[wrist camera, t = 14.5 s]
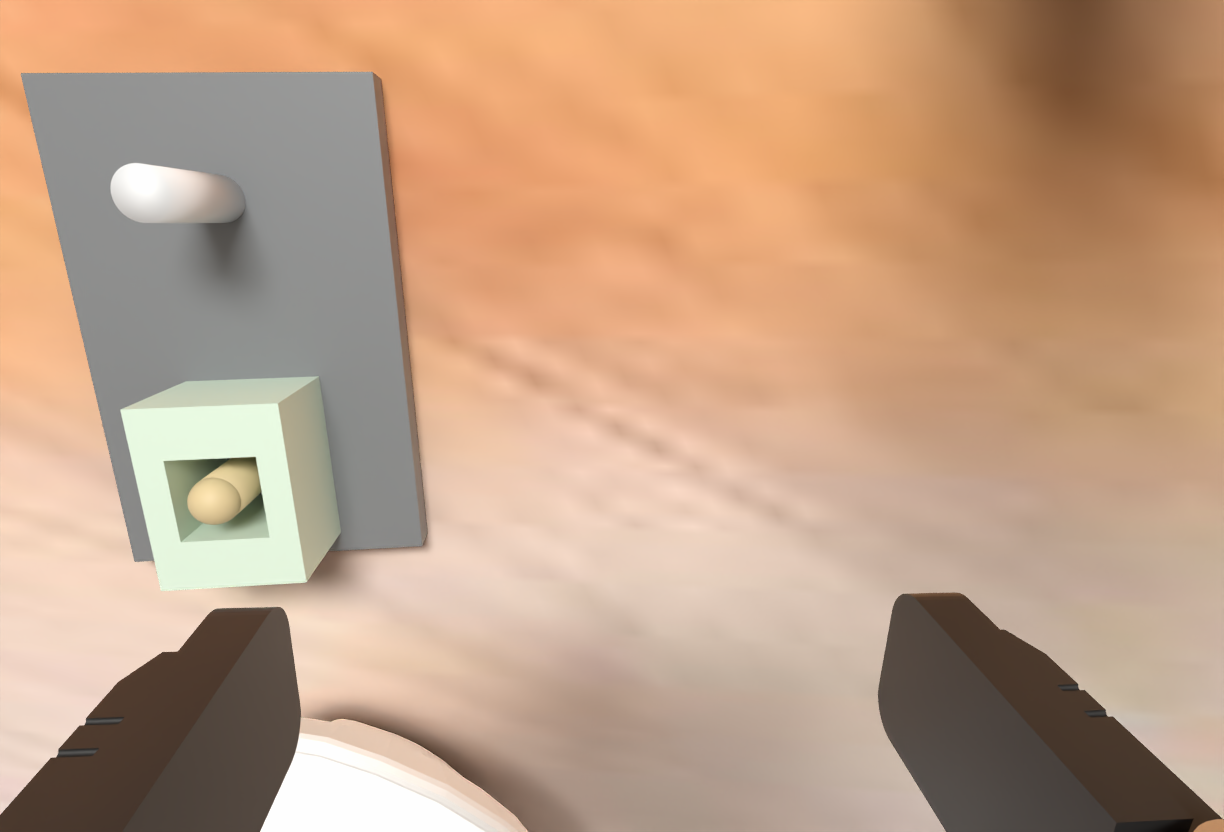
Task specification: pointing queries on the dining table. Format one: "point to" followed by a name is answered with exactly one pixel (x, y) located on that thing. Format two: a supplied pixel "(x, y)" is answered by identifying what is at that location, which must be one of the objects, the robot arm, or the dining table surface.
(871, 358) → the dining table surface
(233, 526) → the collar
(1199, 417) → the dining table surface
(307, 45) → the dining table surface
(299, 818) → the bowl
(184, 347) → the board
